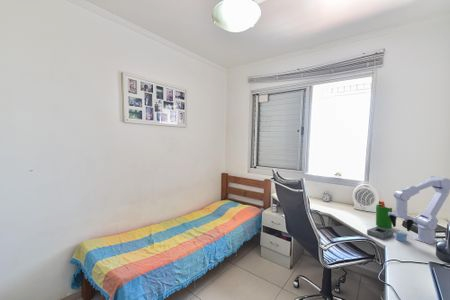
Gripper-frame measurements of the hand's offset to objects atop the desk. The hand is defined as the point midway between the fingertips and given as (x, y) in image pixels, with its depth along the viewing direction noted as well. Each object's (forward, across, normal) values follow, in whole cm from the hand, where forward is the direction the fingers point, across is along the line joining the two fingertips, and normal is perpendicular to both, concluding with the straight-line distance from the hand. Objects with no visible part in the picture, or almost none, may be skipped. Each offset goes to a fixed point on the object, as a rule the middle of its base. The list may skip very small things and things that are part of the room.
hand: (401, 228), depth 134 cm
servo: (+8, 0, 0) cm, 8 cm away
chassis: (+8, -11, -3) cm, 14 cm away
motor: (+8, -18, +17) cm, 26 cm away
